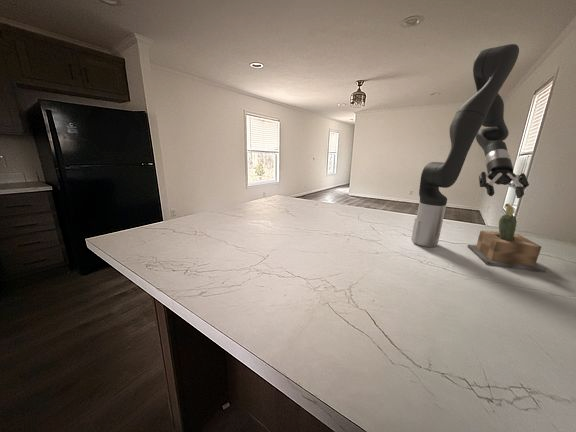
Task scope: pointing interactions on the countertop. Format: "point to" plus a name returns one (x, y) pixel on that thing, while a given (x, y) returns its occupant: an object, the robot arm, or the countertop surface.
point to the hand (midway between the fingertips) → (505, 196)
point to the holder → (507, 251)
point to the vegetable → (507, 224)
